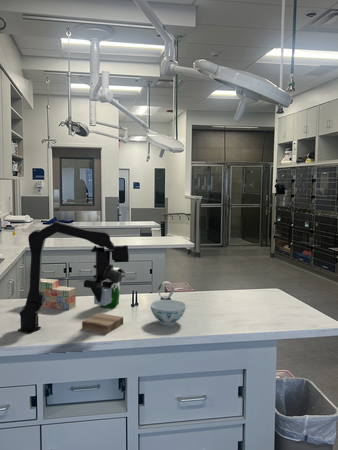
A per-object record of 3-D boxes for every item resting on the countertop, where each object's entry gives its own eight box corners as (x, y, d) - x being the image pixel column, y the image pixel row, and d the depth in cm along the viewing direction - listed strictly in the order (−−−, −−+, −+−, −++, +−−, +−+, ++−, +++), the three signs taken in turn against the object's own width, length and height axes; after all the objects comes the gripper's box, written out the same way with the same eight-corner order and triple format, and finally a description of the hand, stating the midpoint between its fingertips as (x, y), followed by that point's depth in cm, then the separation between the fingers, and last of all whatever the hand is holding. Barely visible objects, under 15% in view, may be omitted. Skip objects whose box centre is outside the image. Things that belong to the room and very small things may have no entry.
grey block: (104, 305, 161) (104, 291, 160) (94, 304, 163) (94, 289, 162) (111, 302, 165) (111, 288, 165) (101, 300, 167) (101, 286, 167)
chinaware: (145, 318, 175) (145, 301, 174) (177, 315, 180) (178, 298, 179) (157, 330, 161) (157, 311, 160) (191, 326, 166) (191, 308, 166)
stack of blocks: (76, 306, 191) (75, 281, 190) (68, 310, 185) (68, 284, 184) (38, 302, 198) (37, 277, 197) (29, 305, 192) (29, 280, 191)
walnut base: (107, 333, 157) (107, 326, 157) (82, 328, 162) (82, 321, 161) (123, 324, 168) (123, 317, 168) (98, 319, 173) (98, 313, 172)
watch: (156, 302, 199) (156, 280, 198) (172, 302, 201) (172, 280, 200) (158, 306, 194) (158, 283, 193) (174, 305, 195) (174, 283, 194)
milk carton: (98, 307, 190) (98, 266, 188) (103, 302, 199) (103, 262, 197) (116, 308, 189) (116, 266, 187) (121, 303, 198) (121, 263, 196)
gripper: (107, 268, 151) (107, 309, 152) (131, 260, 168) (131, 297, 169) (82, 265, 155) (82, 305, 156) (108, 258, 172) (108, 294, 173)
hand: (102, 300), depth 164 cm, fingers closed on grey block, 5 cm apart
